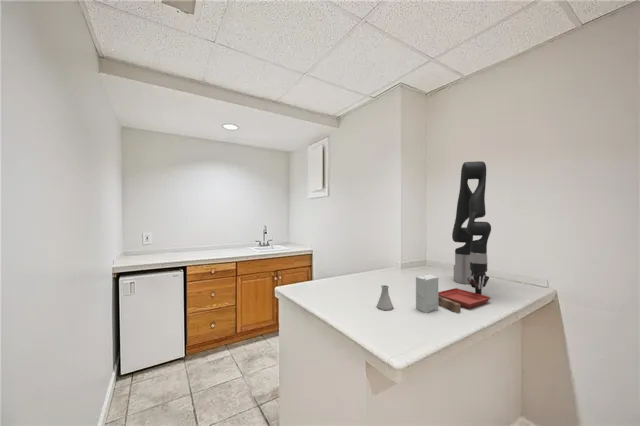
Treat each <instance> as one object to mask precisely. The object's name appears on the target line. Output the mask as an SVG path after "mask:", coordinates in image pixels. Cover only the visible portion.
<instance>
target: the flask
mask: <svg viewBox="0 0 640 426" xmlns="http://www.w3.org/2000/svg"><path fill="white" fill-rule="evenodd" d="M380 287H381V293H380V297H379V299H378V301H377V304H376V306H375V307H376V308H377V309H379V310H382V311H392V310H393V309H394V306H393V303H392V299H391V298H390V294H389V285H386V284H384V285H383V284H382V285H380Z"/></svg>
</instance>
